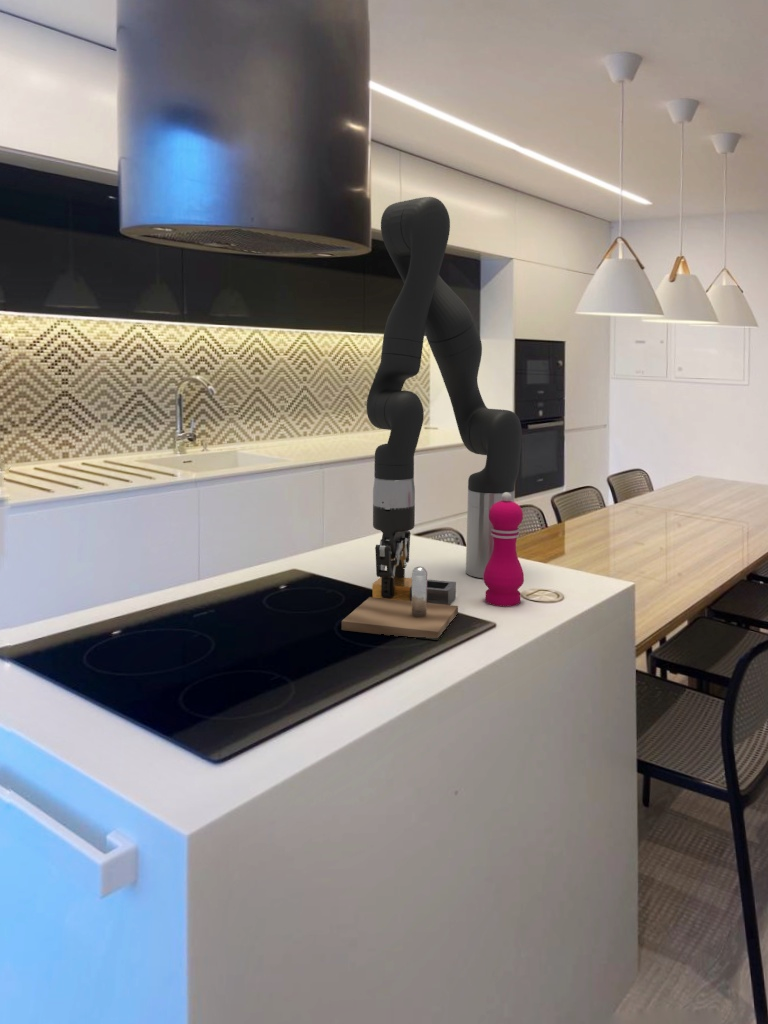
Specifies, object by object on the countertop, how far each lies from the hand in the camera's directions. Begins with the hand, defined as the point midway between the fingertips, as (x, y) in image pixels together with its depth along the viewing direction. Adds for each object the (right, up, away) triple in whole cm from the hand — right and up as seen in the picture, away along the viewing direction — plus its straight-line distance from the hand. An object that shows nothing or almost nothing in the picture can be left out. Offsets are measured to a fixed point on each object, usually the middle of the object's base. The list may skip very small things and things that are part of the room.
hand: (393, 592), depth 150 cm
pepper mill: (+20, -2, -2) cm, 20 cm away
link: (+4, -1, -1) cm, 4 cm away
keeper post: (+4, -2, -15) cm, 16 cm away
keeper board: (+1, -4, -14) cm, 14 cm away
